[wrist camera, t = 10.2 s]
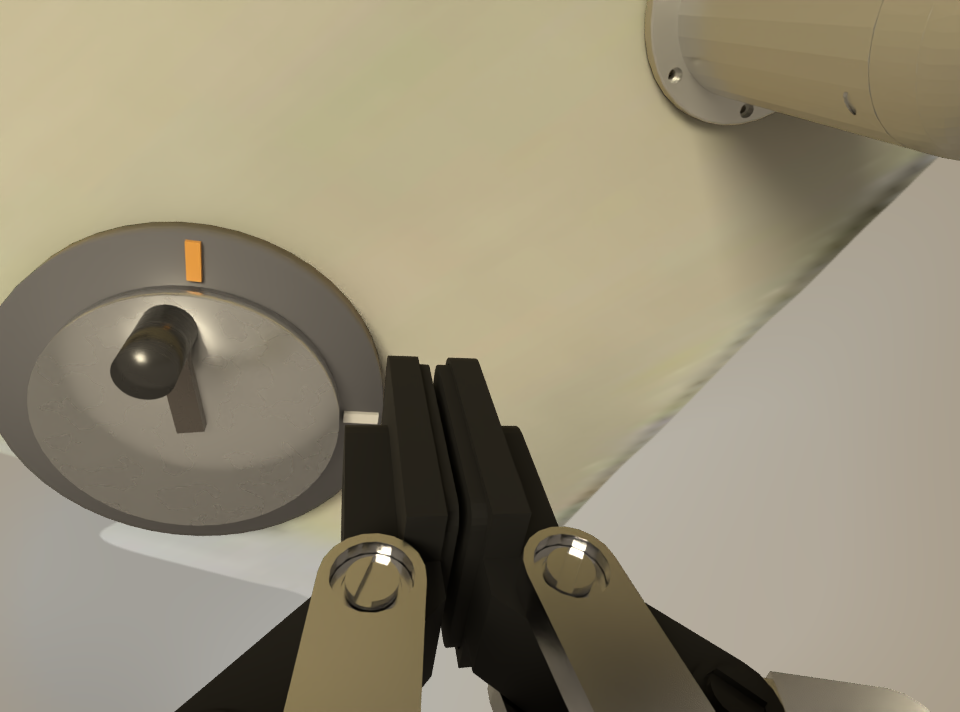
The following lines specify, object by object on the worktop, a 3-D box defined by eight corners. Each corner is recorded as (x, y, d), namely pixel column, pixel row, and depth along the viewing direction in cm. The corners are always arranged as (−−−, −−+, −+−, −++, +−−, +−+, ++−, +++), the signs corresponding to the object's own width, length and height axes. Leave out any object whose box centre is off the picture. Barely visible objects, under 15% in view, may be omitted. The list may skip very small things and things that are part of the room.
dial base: (426, 284, 39) (430, 299, 37) (334, 533, 50) (333, 554, 48) (0, 163, 31) (-23, 175, 29) (-4, 491, 41) (-22, 516, 40)
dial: (347, 497, 45) (347, 567, 39) (87, 521, 41) (47, 601, 36) (328, 280, 36) (324, 332, 30) (-9, 289, 32) (-82, 350, 27)
